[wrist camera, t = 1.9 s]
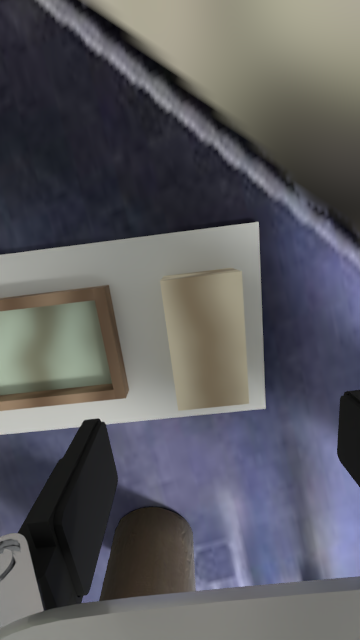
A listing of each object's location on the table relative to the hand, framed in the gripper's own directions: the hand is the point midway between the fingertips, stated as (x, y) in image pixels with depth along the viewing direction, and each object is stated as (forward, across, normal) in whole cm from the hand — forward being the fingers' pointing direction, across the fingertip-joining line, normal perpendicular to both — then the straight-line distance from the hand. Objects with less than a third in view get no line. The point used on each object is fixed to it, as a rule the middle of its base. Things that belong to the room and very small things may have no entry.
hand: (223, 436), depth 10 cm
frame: (+15, +15, 0) cm, 21 cm away
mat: (+15, +8, 0) cm, 17 cm away
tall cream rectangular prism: (+14, 0, 0) cm, 14 cm away
